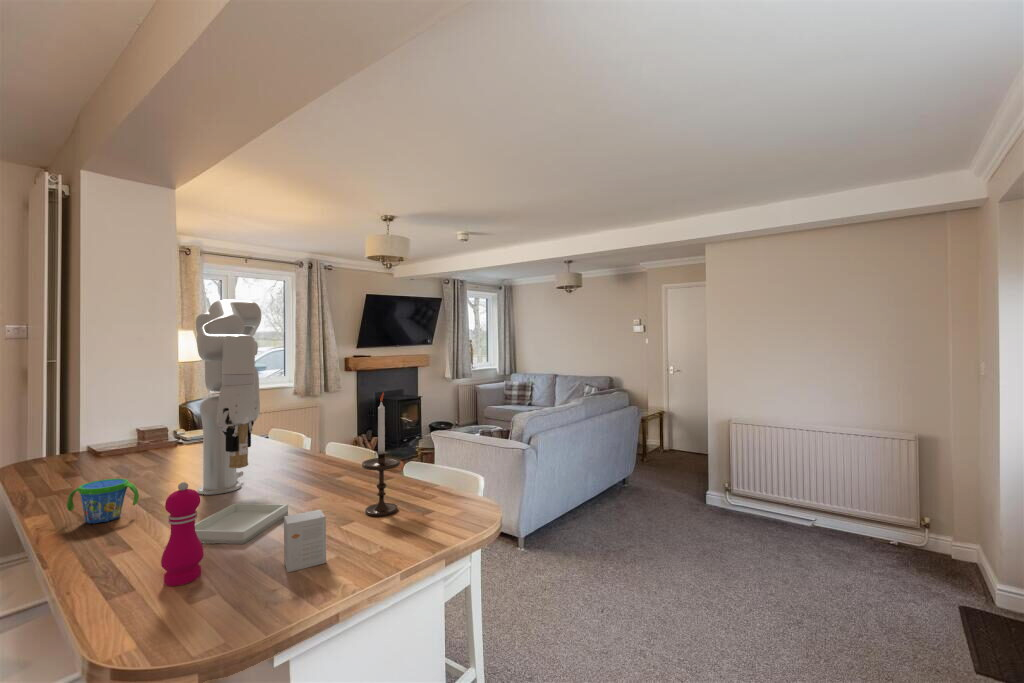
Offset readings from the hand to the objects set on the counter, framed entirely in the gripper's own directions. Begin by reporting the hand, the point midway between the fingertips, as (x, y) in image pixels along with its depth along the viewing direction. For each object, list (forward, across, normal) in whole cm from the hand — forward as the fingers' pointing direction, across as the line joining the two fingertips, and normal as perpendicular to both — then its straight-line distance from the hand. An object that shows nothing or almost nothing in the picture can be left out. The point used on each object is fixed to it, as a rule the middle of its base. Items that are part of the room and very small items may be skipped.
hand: (238, 448), depth 124 cm
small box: (+21, +19, +28) cm, 40 cm away
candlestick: (+21, -14, +34) cm, 43 cm away
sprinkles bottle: (+5, 0, 0) cm, 5 cm away
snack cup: (+21, -4, -42) cm, 47 cm away
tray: (+21, 0, 0) cm, 21 cm away
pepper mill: (+21, +27, +6) cm, 35 cm away
